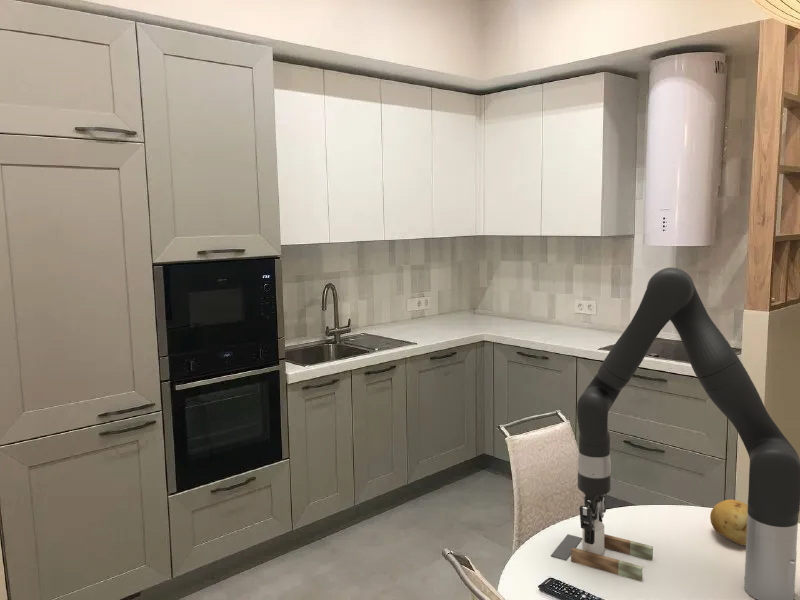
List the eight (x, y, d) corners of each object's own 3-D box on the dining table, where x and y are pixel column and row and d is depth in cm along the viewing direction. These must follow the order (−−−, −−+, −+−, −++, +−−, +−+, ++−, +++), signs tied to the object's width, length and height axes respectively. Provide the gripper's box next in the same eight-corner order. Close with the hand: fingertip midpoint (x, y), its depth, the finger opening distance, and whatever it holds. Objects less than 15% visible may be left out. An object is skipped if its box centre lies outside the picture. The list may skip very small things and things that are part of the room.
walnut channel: (652, 558, 150) (653, 546, 149) (641, 581, 140) (641, 569, 140) (586, 540, 159) (586, 529, 158) (571, 561, 149) (571, 549, 149)
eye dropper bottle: (607, 559, 150) (608, 511, 148) (584, 559, 150) (584, 512, 148) (602, 549, 154) (602, 503, 153) (579, 550, 154) (579, 503, 153)
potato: (734, 525, 164) (735, 489, 163) (770, 550, 152) (772, 510, 151) (699, 530, 162) (700, 493, 161) (732, 555, 150) (734, 515, 149)
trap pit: (582, 539, 160) (582, 537, 160) (566, 560, 150) (566, 559, 150) (567, 535, 162) (567, 534, 162) (550, 556, 152) (550, 555, 152)
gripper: (600, 484, 141) (600, 555, 144) (618, 463, 153) (617, 529, 155) (568, 477, 146) (568, 546, 148) (587, 457, 157) (587, 521, 160)
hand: (593, 537), depth 152 cm, fingers closed on eye dropper bottle, 5 cm apart
